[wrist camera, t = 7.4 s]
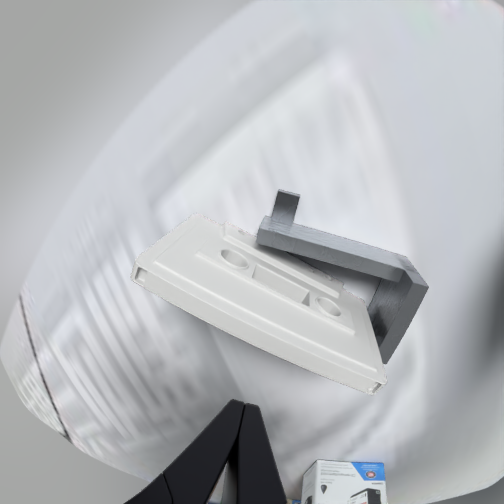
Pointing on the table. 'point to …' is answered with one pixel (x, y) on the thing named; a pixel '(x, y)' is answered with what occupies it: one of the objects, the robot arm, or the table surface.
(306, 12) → the table surface
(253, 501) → the robot arm
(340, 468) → the ink box
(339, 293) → the cassette
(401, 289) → the bracket
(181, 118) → the table surface
